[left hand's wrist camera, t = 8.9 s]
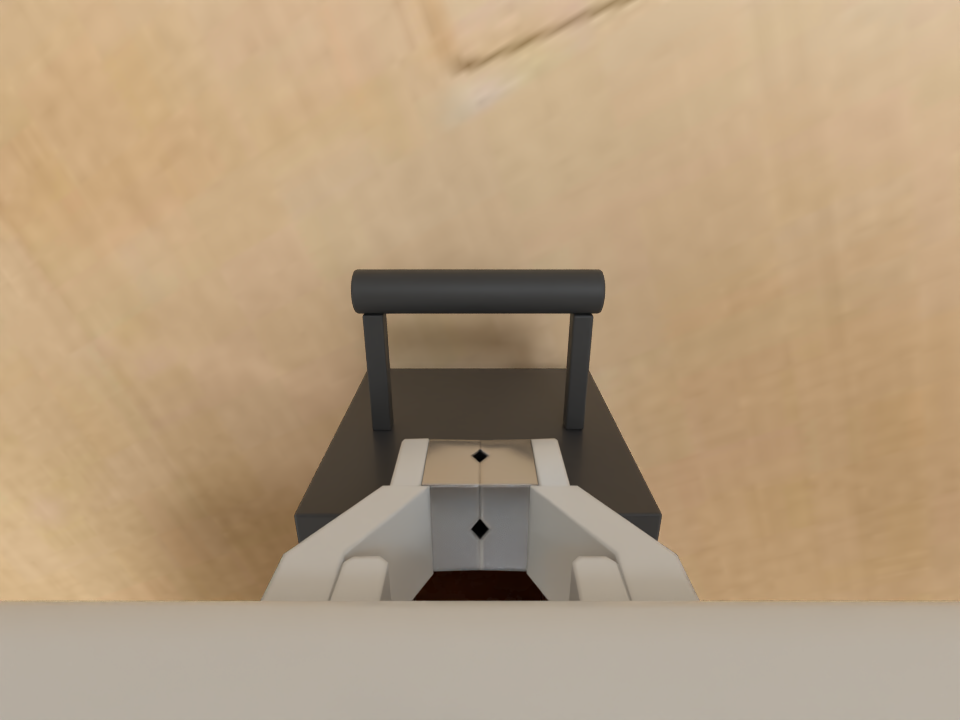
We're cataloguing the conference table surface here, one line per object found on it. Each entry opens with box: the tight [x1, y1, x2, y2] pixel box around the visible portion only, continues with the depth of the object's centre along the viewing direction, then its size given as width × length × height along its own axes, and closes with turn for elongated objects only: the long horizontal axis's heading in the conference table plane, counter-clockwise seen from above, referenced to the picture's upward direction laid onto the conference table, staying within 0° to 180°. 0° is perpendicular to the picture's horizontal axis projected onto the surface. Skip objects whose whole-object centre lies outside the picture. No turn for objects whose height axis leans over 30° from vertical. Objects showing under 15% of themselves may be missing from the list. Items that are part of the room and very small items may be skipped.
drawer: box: [294, 270, 662, 601], centre depth 19 cm, size 20×9×9 cm, turn 0°
